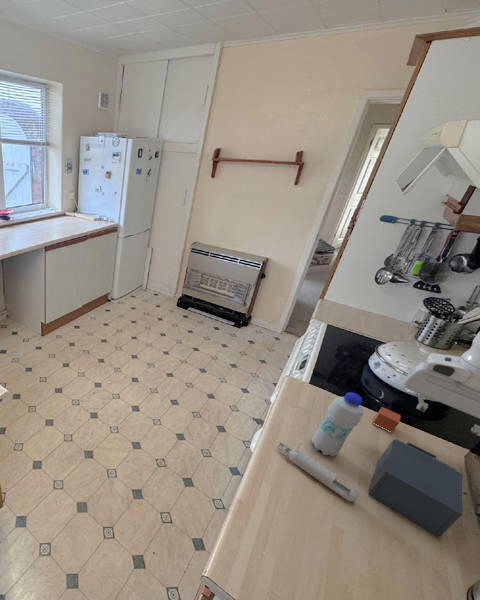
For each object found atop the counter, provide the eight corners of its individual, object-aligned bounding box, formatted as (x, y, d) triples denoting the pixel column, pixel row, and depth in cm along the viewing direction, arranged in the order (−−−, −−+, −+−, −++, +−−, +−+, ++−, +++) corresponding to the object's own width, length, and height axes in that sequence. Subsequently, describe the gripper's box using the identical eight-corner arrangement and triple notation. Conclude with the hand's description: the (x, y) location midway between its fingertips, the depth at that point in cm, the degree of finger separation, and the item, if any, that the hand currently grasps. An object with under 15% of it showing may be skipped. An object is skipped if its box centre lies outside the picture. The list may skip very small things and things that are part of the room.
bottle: (338, 463, 86) (374, 408, 77) (309, 451, 89) (340, 396, 80) (336, 446, 91) (369, 392, 82) (308, 435, 94) (338, 382, 85)
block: (374, 417, 103) (381, 406, 101) (393, 426, 100) (401, 415, 98) (372, 424, 100) (379, 413, 98) (391, 433, 97) (399, 422, 95)
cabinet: (377, 460, 88) (393, 439, 84) (441, 496, 80) (462, 473, 76) (367, 494, 79) (385, 471, 75) (438, 537, 71) (462, 514, 67)
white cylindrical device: (357, 497, 78) (370, 479, 75) (351, 508, 75) (364, 491, 72) (280, 445, 90) (288, 428, 87) (272, 453, 87) (281, 436, 85)
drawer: (385, 446, 92) (398, 429, 88) (441, 475, 84) (456, 458, 81) (375, 485, 80) (388, 467, 77) (438, 523, 73) (456, 505, 70)
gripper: (554, 396, 67) (510, 442, 73) (422, 350, 81) (394, 392, 87) (559, 410, 63) (513, 457, 70) (420, 359, 77) (391, 402, 83)
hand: (446, 420), depth 78 cm, fingers open, 8 cm apart
